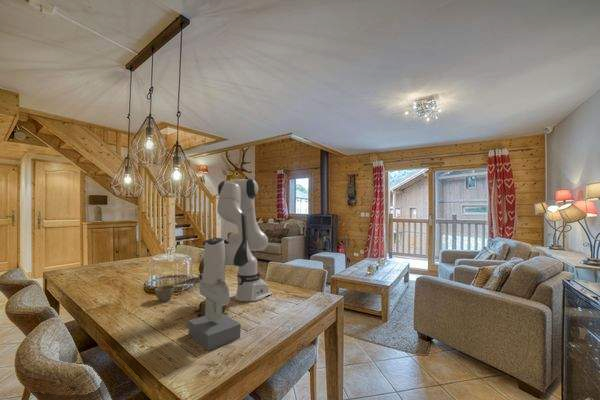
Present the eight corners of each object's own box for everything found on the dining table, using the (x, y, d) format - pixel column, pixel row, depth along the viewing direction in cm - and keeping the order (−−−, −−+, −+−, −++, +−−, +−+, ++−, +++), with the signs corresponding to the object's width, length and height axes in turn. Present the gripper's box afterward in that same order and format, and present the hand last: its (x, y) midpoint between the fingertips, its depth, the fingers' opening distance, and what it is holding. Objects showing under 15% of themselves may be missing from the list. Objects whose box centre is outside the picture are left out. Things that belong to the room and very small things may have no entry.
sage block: (216, 313, 114) (216, 295, 114) (222, 317, 111) (222, 298, 111) (205, 317, 111) (205, 298, 111) (210, 321, 107) (211, 301, 107)
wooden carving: (222, 311, 135) (222, 292, 135) (227, 314, 132) (227, 294, 133) (191, 322, 123) (192, 301, 123) (197, 325, 120) (197, 303, 120)
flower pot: (167, 296, 157) (168, 284, 157) (178, 299, 152) (178, 287, 152) (151, 301, 149) (151, 288, 149) (161, 305, 143) (161, 291, 144)
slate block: (219, 324, 122) (219, 311, 122) (240, 338, 109) (240, 324, 109) (188, 334, 112) (188, 320, 112) (208, 351, 99) (208, 335, 99)
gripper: (233, 281, 106) (233, 315, 106) (210, 271, 120) (209, 302, 120) (219, 284, 101) (218, 320, 101) (196, 274, 116) (196, 305, 116)
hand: (213, 310), depth 111 cm, fingers closed on sage block, 5 cm apart
